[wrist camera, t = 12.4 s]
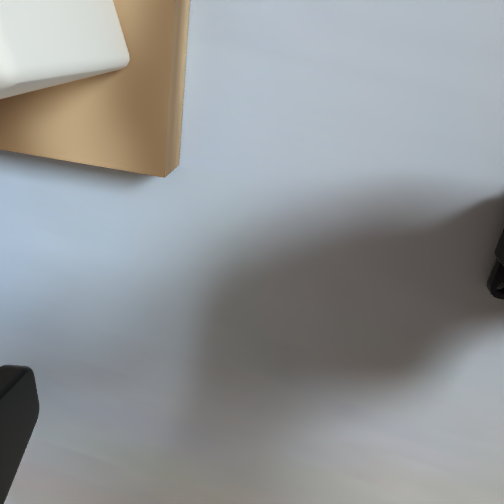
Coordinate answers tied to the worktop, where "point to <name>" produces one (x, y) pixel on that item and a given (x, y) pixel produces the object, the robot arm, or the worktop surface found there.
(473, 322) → the worktop surface
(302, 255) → the worktop surface
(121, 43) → the medicine bottle
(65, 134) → the tan flat square slab
